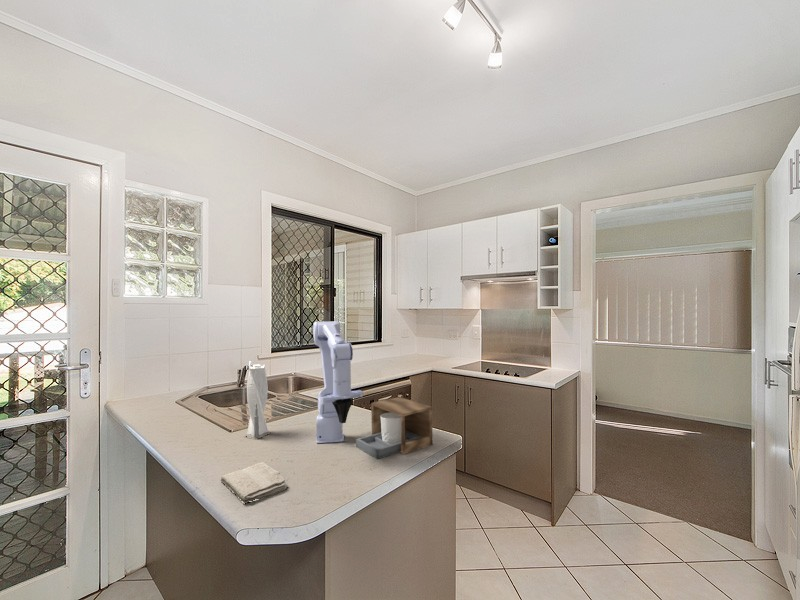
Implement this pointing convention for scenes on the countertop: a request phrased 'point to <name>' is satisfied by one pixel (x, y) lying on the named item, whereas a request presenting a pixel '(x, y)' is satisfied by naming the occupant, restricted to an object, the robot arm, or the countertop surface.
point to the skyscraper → (257, 401)
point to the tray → (382, 444)
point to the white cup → (391, 428)
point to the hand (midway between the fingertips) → (342, 422)
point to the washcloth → (254, 482)
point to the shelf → (406, 421)
